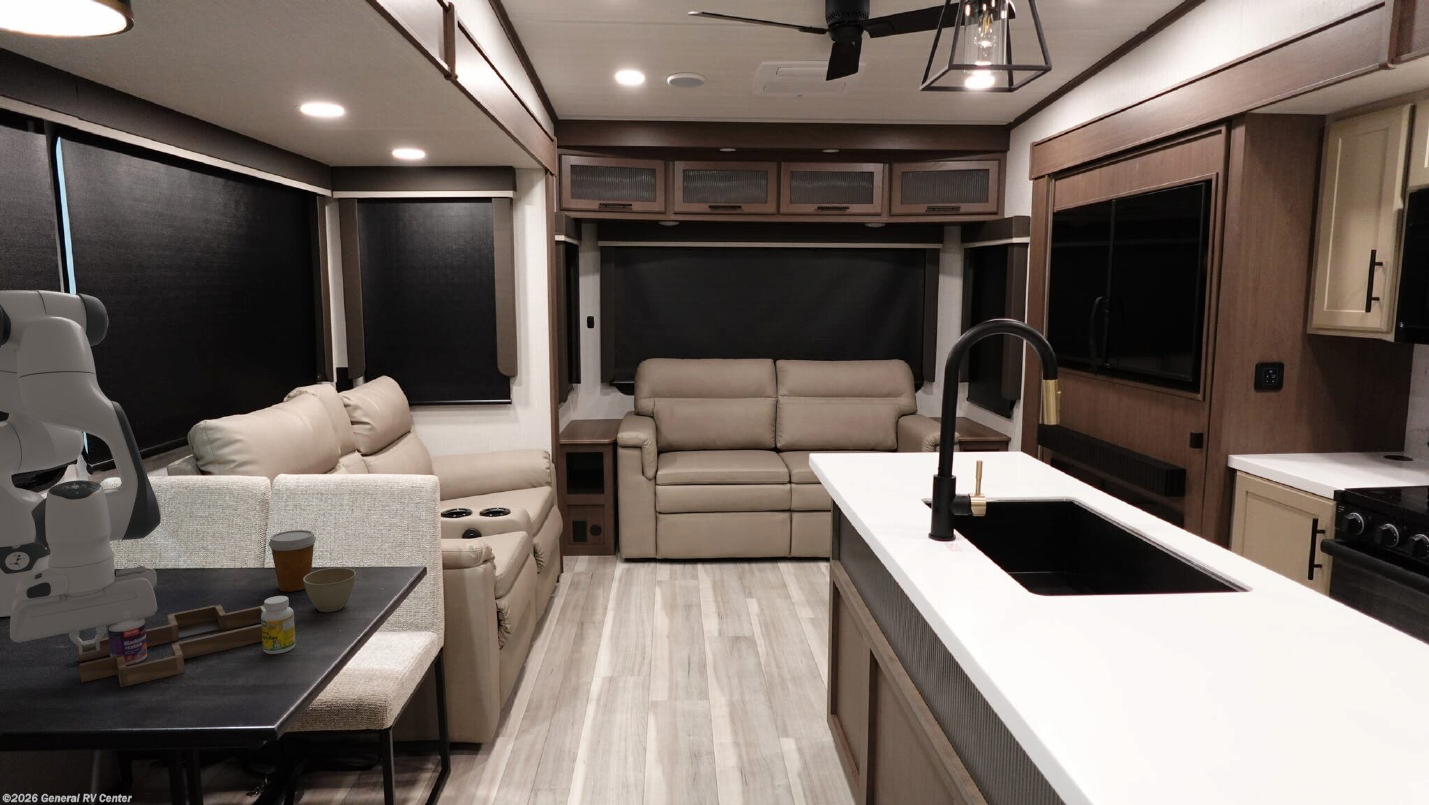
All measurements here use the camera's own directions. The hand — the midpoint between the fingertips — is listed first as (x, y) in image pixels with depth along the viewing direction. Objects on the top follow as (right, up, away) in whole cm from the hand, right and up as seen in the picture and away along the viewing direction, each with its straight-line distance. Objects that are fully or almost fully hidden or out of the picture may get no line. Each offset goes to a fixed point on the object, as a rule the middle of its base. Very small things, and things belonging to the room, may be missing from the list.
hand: (89, 651), depth 140 cm
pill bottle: (+4, -3, +4) cm, 6 cm away
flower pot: (+28, 0, +29) cm, 41 cm away
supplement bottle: (+28, -3, +10) cm, 30 cm away
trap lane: (+11, -2, +10) cm, 15 cm away
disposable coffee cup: (+14, +2, +41) cm, 44 cm away
